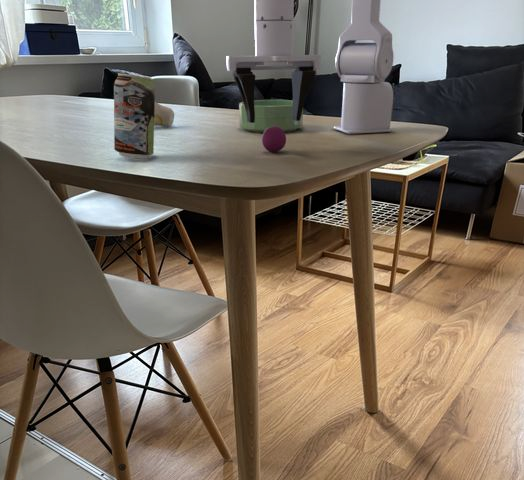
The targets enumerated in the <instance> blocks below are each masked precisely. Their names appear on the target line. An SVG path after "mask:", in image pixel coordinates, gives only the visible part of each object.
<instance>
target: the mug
mask: <svg viewBox="0 0 524 480" xmlns="http://www.w3.org/2000/svg"><path fill="white" fill-rule="evenodd" d="M174 119H175V112H174V110H173V108H171V107H169V106H166V105H165V106H164V105H162V104H160V103H158V102H157V101H155V111H154V127H164V128H169V127H171V126H173V124H174Z"/></svg>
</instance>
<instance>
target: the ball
mask: <svg viewBox="0 0 524 480" xmlns="http://www.w3.org/2000/svg"><path fill="white" fill-rule="evenodd" d="M261 143H262V146H263V148H264V149H265V150H266V151H268V152H270V153H278V152H280V151H282V150H283V149H284V148H285V146H286V143H287V136H286V132H284V131H283V130H282V129H281V128H279V127H277V126H271V127H269V128H267V129H266V130H265V131H264V133H263V134H262V137H261Z"/></svg>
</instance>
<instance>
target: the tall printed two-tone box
mask: <svg viewBox="0 0 524 480" xmlns="http://www.w3.org/2000/svg"><path fill="white" fill-rule="evenodd" d="M155 87H156V86H155V85H154V84H153V81H152V77H148V76H142V75H134V74H128V73H127V74H126V73H120V72H119V73H117V77H116V78H115V80H114V82H113V119H114V120H113V130H114V131H113V134H114V135H113V136H114V137H113V139H114V142H113V143H114V145H113V146H114V148H113V149H114V151H116V152H117V153H118V155H119V156H121V157H125V158H131V159H149V157H150V156H152V155H153V154H154V151H155V149H154V147H155V146H154V145H155V126H154V111H155V102H156V88H155Z"/></svg>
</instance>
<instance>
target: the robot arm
mask: <svg viewBox="0 0 524 480" xmlns="http://www.w3.org/2000/svg"><path fill="white" fill-rule="evenodd" d="M294 1H295V0H254V40H255V42H254V43H255V44H254V47H255V52H254V53H255V55H226V56H225V57H226V58H225V59H226V71H227V72H232V77H233V80H234V81H235V84H236V86H237V88H238V90H239V93H240V96H241V99H242V102H244V106H245V110H246V115H247V121H248V122H250V123H255V109H254V101H255V84H256V75H255V74H254V72H253V71H277V70H279V71H280V70H294V71H291V83H292V84H291V85H292V100H293V105H292V119H293V120H296V121H300V119H301V113H302V109H303V110H304V105H305V102H306V98H307V96H308V93H309V91H310V88H311V87H312V85H313V83H314V80H315V79H316V76H317V71H316V70H320V69H321V59H322V58H321V57H322V56H321V54H294V13H295V12H294V10H295V9H294V8H295V2H294ZM380 13H381V0H351V14H350V17H351V19H350V24H349V25H348V26H347V27H346V28H345V30H344V31H343V32H342V33H340V35H339V38H338V47H337V53H336V55H335V62H334V64H335V70H336V71H335V72H336V73H337V75H338V77H339V78H340V82H342V83H343V89H342V102H341V103H342V104H341V105H342V107H341V119H340V120H341V121H340V125H335V126H333V129H334V130H336V131H339V132H341V133H345V134H350V135H353V134H354V135H355V134H369V133H390V132H392V128H391V121H392V113H393V104H394V103H393V102H394V89H393V86H392V84H391V83H390V82H388V81H385V80H386V79H387V78H388V76H389V75H390V74H391V72H392V69H393V66H394V50H393V33H392V32H391V31H390V30H389V29H388V28H387V27H386V26H385V25H383V23H382V22H381V21H380V15H381V14H380ZM357 41H373V42H357ZM265 63H283V64H284V65H265Z"/></svg>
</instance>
